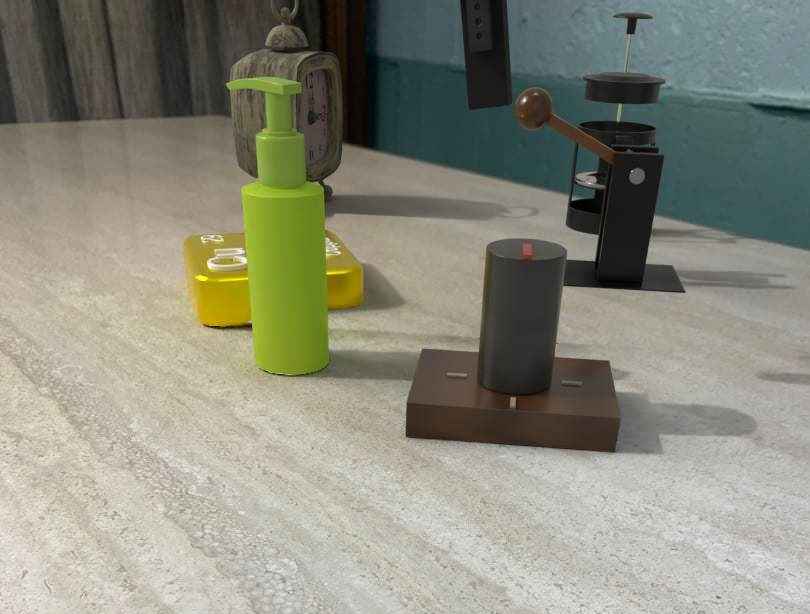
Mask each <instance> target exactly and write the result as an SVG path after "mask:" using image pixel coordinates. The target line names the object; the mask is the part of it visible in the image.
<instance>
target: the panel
mask: <svg viewBox="0 0 810 614" xmlns="http://www.w3.org/2000/svg"><path fill="white" fill-rule="evenodd" d="M478 354H479V351H468V350H454V349H439V348H425V347H424V348H422V349H421V351H420V354H419V358H418V361H417V365H416V369H415V372H414V375H413V379H412V382H411V385H410V389H409V392H408V396H407V400H406V403H405V437H409V438H420V439H421V438H422V439H434V440H447V441H449V440H450V441H462V442H475V443H488V444H489V443H490V444H502V445H515V446H516V445H517V446H531V447H544V448H554V449H555V448H557V449H570V450H583V451H595V452H612V453H615V452H616V449H617V445H618V439H619V432H620V429H621V428H620V427H621V421H622V416H621V410H620V406H619V402H618V396H617V392H616V385H615V381H614V376H613V371H612V366H611V362H610V360H608V359H607V360H605V359H594V358H593V359H591V358H578V357H577V358H575V357H561V356H554V365H553V373H552V381H551V385H550V386H549V387H548V388H547V389H545V390H543V391H541V392H537V393H532V394H506V393H501V392H497V391H493V390H490V389H488V388H486V387H484V386H483V385H481V384H480V383H479V382H478V380H477V368H478Z"/></svg>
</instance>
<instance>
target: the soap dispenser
mask: <svg viewBox="0 0 810 614" xmlns="http://www.w3.org/2000/svg"><path fill="white" fill-rule="evenodd" d="M225 85H226V87H227V88H228V90H229V91H230V90H238V89H247V88H249V89H256V90H261V91H265V101H266V117H267V128H264V129H262V132H260V133H257V134H256V152H257V167H258V178H257V180H258V181H253V182H251V183H247V184H246V185H243V186H242V187H241V190H240V192H241V204H242V216H243V228H244V229H243V230H244V233H245V242H246V255H247V267H248V280H249V292H250V305H251V323H252V325H251V329H252V340H253V341H252V342H253V354H254V364H255V363H256V364H255V366H256V365H257V366H258V367H260V368H262V369H263V370H265V371H268V372H273V373H283V374H304V375H307V374H306V373H309V374H312V373H311V372H313V373H315V371H316V372H319V371H321V370H322V368H323V369H325V368H326V367H328V365H329V363H330V346H329V345H330V344H329V340H330V339H329V313H328V310H329V309H328V307H327V273H326V240H325V229H326V213H325V212H326V211H325V210H326V209H325V197H324V188H323V187H322V186H321V185H320V184H319V183H316V182H314V183H312V182H308V181H306V165H305V140H304V135H303V134H302V133H299V132H297V129H295V128H292V122H291V101H290V94H295V93H302V84H301V83H299V82H295V81H291V80H287V79H282V78H277V77H256V78H247V79H239V80H235V81H231V82H230V81H228V82H226V83H225ZM327 364H328V365H327ZM257 366H256V367H257ZM325 366H326V367H325ZM258 367H257V368H258ZM263 370H262V371H263ZM318 370H319V371H318ZM265 371H264V372H265ZM268 372H267V373H268Z"/></svg>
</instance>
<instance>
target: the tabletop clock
mask: <svg viewBox="0 0 810 614" xmlns="http://www.w3.org/2000/svg"><path fill="white" fill-rule="evenodd" d="M275 2H276V0H270V8H271V12H272V15H273V16H274V18H275V19H276V20H277V21H278V22H280V23H281V24H280V25H277V26H274V27H273V28H271V29H270V31H269V32H268V35H267V37H266V40H265V46H266V47H273V48H274V49H273V48H263V49H260V50H257V51H253V52H251V53H248V54H247V55H246V56H244V57H242V58H241V59H239V60H238V61H236V62H235V63H234V64H233V65H232V66H231V68H230V75H229V76H230V77H229V82H231V81H235V80H239V79H247V78H256V77H277V78H282V79H287V80H291V81H295V82H299V83H301V84H302V93H295V94H290V101H291V122H292V128H295V129H297V132H299V133H302V134H303V135H304V140H305V165H306V181H308V182H312V183H317V184H318V185H321V186H322V187H323V188H324V199H326V198H328V199H329V198H330V197H332V196H333V194H334V193H333V192H334V190H333V187H332V186H331V185H330V184H325V182H324V180H326V179H327V178H329V177H330V176H331V175H333V174H335V172H336V171H337V170H338V169H339V168H340V165H341V164H342V155H343V139H344V104H343V103H344V102H343V101H344V100H343V82H342V71H341V64H340V63H341V62H340V58H339V57H338V56H337V55H336V54H335V53H334V52H331V51H314V50H313V51H312V50H311V51H310V50H297V49H296V50H292V48H305V47H309V42H308V39H307V37H306V35H305V33H304V32H303V30H302V29H301V28H300V27H297V26H295V25H292V24H291V22H292V21H293V20H294V19H295V18H296V17H297V14H298V11H299V0H294V7H293V10H292V12H291V11H290V9H289V7H282V8H281V9H280V13H279V12H278V11H277V9H276V3H275ZM275 48H283V49H275ZM229 93H230V94H229V95H230V111H231V125H232V133H233V143H234V152H235V157H236V162H237V165H238V167H239V168H240V169H241V170H242V171H244V172H245V173H246V174H247V175H248V176H250V177H252V178H254V179H258V167H257V152H256V134H257V133H260V132H262V129H264V128H267V117H266V101H265V91H261V90H256V89H249V88H247V89H238V90H229Z"/></svg>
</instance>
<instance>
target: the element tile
mask: <svg viewBox="0 0 810 614" xmlns="http://www.w3.org/2000/svg"><path fill="white" fill-rule="evenodd" d="M325 240H326V273H327V307H328V310H338V309H349V308H354V307H358V306H360V305H362V304H363V303H364V266H363V264H362V263H361V262H360V260H359V259H358V258H357V257H356V256H355V255H354V254H353V252H351V250H350V249H349V248H348V247H347V246H346V244H345V243H344V242H343V241H342V240H341V239H340V238H339V237H338V235H337V234H335V233H334V232H332V231H331V230H328V229H326V228H325ZM182 251H183V258H184V267H185V277H186V283H187V287H188V290H189V294H190V296H191V300H192V304H193V307H194V311H195V314H196V318H197V320H198V321H199V323H200V324H202V323H203V324H202V325H204V324H206V325H209V326H208V327H210V326H220V327H219V328H227V327H226V326H235V327H244V326H243V325H248V326H252V322H250V320H251V319H252V317H251V305H250V292H249V280H248V267H247V255H246V242H245V232H232V233H231V232H230V233H214V234H213V233H212V234H196V235H194V234H193V235H190V236H188V237H186V239H185V240H183V242H182ZM206 325H205V326H206Z"/></svg>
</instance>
